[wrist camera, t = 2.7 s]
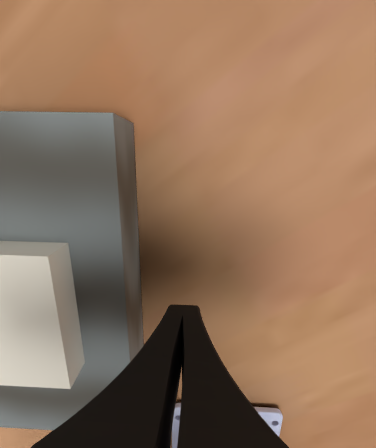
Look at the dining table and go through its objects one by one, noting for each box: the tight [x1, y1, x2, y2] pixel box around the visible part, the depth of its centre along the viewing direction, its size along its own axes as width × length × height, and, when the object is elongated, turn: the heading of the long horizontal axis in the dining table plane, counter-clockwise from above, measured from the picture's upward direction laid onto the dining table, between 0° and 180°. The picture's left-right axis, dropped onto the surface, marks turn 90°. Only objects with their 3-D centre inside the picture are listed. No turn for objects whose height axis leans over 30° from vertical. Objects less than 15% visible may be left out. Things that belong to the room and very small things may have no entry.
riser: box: [0, 111, 144, 430], centre depth 13 cm, size 18×12×3 cm, turn 179°
